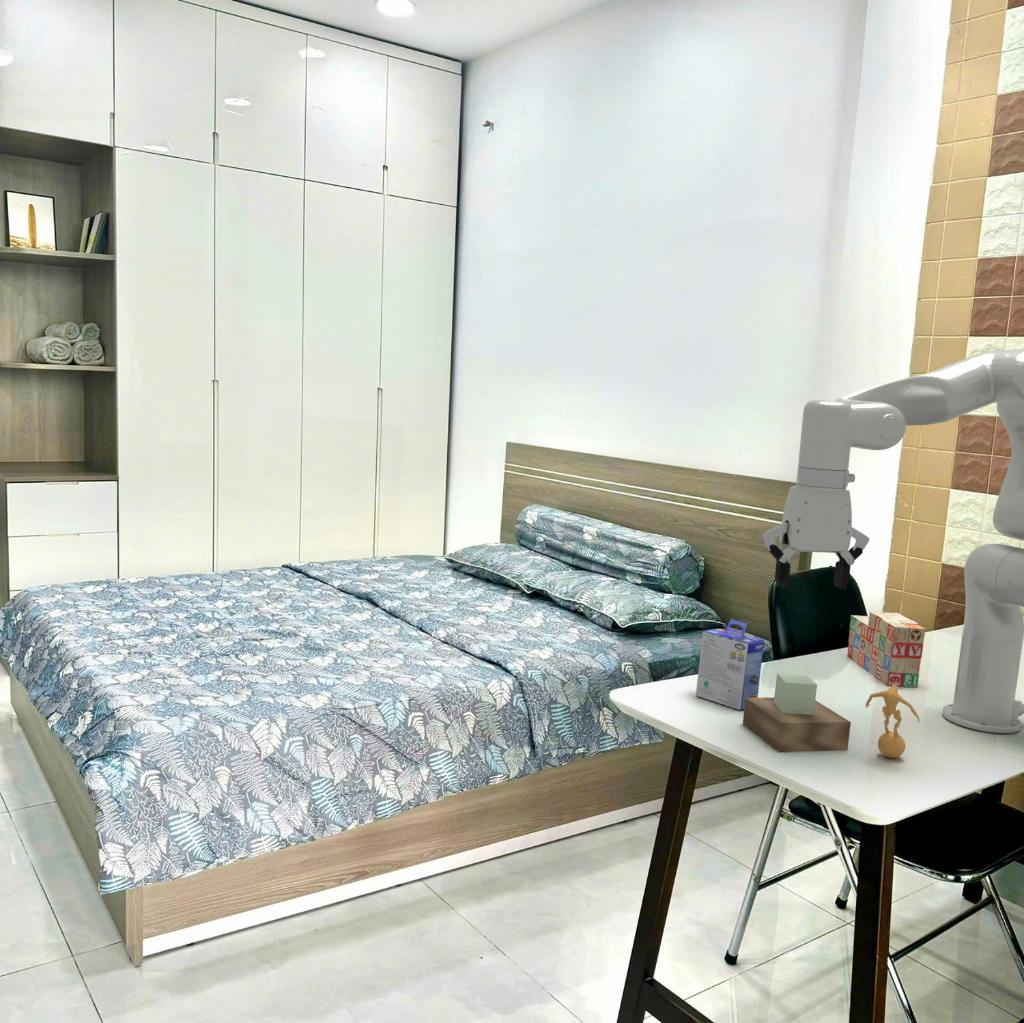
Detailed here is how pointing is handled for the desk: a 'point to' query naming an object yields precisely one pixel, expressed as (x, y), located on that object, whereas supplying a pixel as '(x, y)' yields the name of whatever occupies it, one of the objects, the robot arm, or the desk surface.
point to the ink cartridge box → (729, 666)
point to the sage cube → (795, 694)
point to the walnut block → (796, 727)
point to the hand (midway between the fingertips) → (811, 587)
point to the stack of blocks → (887, 647)
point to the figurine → (889, 741)
